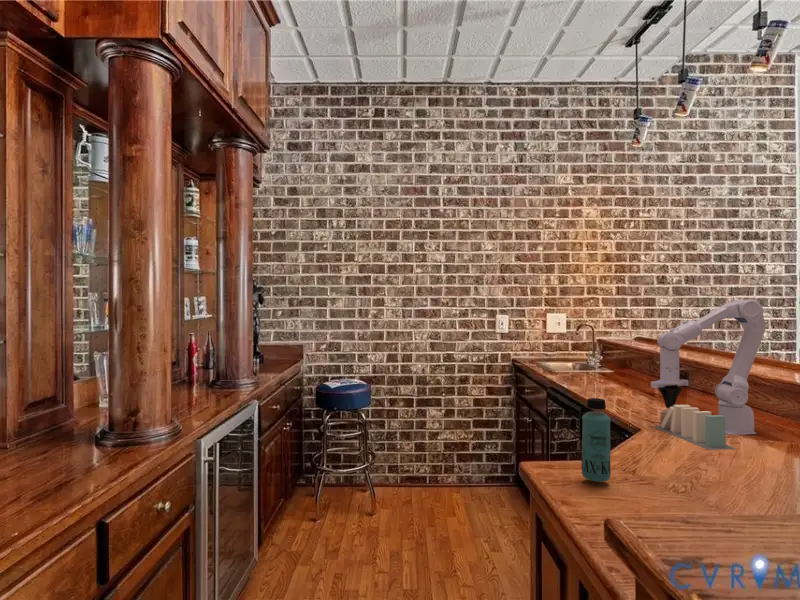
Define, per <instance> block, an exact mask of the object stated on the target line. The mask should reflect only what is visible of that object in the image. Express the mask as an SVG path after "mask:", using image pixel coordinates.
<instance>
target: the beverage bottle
mask: <svg viewBox="0 0 800 600" xmlns="http://www.w3.org/2000/svg"><path fill="white" fill-rule="evenodd" d="M586 408H588V409H591V410H605V409H607V406H606V400H605V399H603V398H596V397H590V398H588V399H587V405H586ZM581 419H582V431H581V432H582V433H581V434H582V436H581V437H582V438H581V462H580V463H581V470H580V472H581V475H582V476H583V477H582V478H584V479H586V480H589V481H594V482H607V481H609V480H610V479H611V472H612V471H611V455H612V453H611V450H612V448H611V442H612V439H611V417H610V416H609V415H608V414H606V413H605V412H603V411H602V412H601V411H587V412H586V413H585V414H583V415H582V417H581Z"/></svg>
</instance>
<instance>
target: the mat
mask: <svg viewBox="0 0 800 600" xmlns="http://www.w3.org/2000/svg"><path fill="white" fill-rule="evenodd" d="M650 427H652V428H654V429H656V430H660V431H661V432H664V433H666V434H668V435H671V436H674V437H675V438H678V439H680V440H683V441H686V442H688V443H690V444H693V445H695V446H697V447H700V448H703V449H705V450H707V451H715V450H716V451H718V450H720V451H721V450H737V448H736V447H733V446H731V445H728V444H726V443H725V447H707V446H706V442H695V441H693V437H682V436H681V433H673V432H671V431H670V430H671V428H670V429H663V428H662V426H661V425H650Z"/></svg>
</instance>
